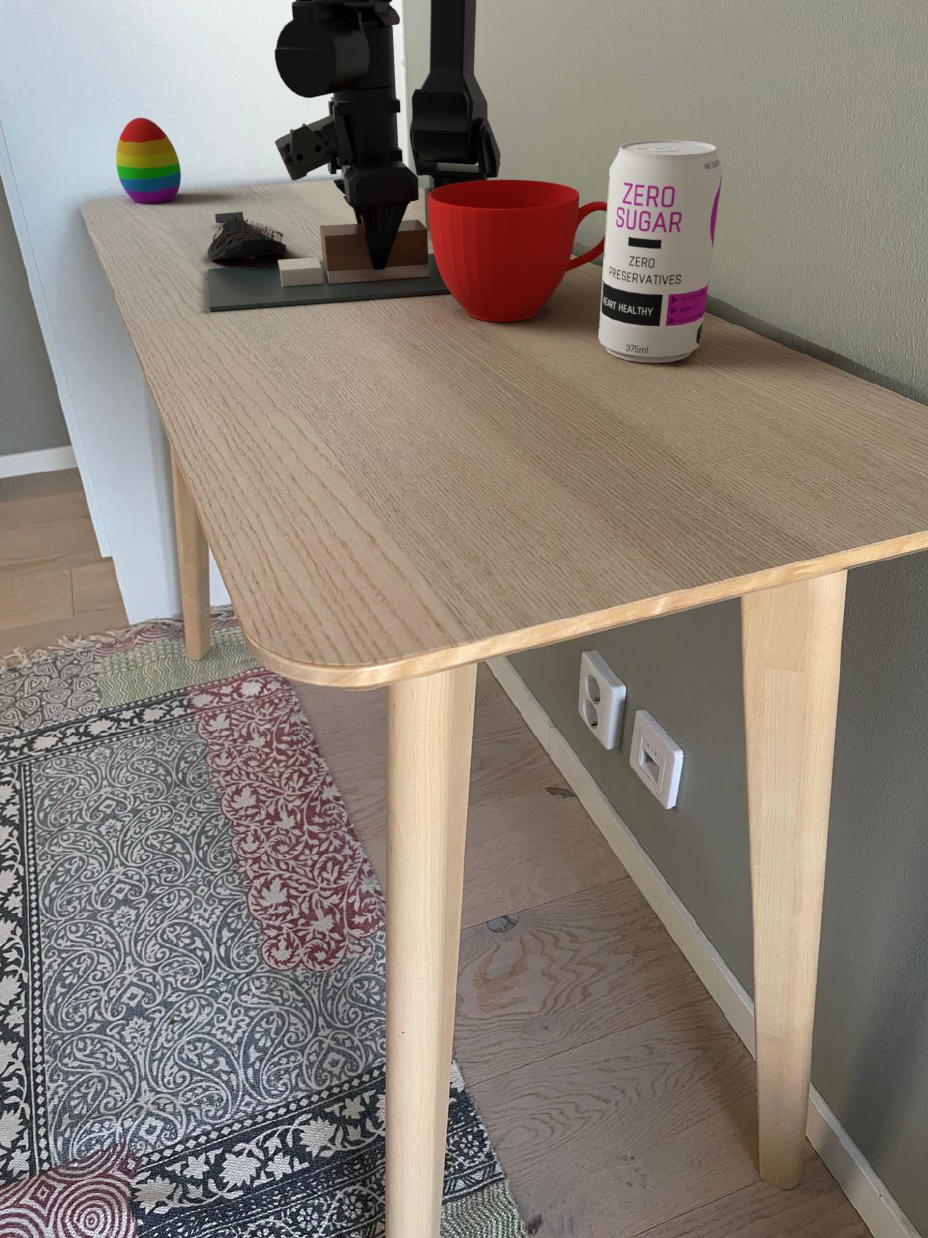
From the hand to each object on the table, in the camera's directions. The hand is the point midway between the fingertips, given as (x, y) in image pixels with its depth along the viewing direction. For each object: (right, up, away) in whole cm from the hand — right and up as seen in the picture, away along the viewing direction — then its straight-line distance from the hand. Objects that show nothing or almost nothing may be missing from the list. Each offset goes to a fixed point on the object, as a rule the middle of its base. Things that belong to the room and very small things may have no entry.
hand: (375, 263), depth 97 cm
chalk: (-7, -2, -1) cm, 8 cm away
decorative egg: (-33, +22, +36) cm, 54 cm away
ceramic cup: (+14, -7, -8) cm, 18 cm away
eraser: (0, -1, +1) cm, 1 cm away
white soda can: (+24, -14, -18) cm, 33 cm away
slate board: (-4, -2, 0) cm, 5 cm away
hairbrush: (-17, +7, +13) cm, 22 cm away
